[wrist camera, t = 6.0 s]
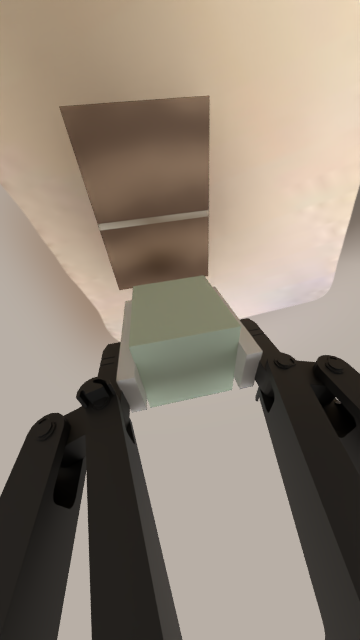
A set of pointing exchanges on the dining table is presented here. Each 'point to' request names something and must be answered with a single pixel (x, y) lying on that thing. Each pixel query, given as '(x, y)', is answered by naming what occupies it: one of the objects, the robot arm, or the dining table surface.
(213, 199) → the dining table surface
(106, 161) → the walnut board
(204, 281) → the sage block
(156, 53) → the dining table surface
